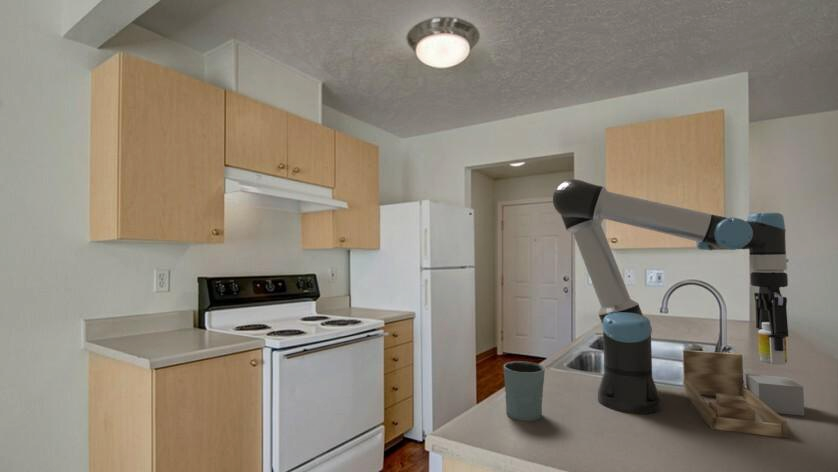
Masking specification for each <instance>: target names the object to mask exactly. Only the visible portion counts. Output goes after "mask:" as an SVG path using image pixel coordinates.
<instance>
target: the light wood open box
mask: <svg viewBox="0 0 838 472" xmlns="http://www.w3.org/2000/svg"><path fill="white" fill-rule="evenodd" d="M743 363H744V362H743V354H742V353H733V352H732V353H731V352H721V351H720V352H718V351H703V350H702V351H701V350H690V349H689V350H688V349H682V365H683V367H682V368H683V369H682V370H683V372H682V373H683V392H684V391H685V392H684V393H686V394H687V395H686V394H685V395H686V397H687V398H688V397H689V398H688V399H689V401H690V402H691V403H692V405H693V406H694V407H695V408H696V410H697V412H698V413H699V414H700V415H701V417H702V418H703V419H704V421H705V422H706V423H707V425H708V427H709V428H710V429H713V430H720V431H727V432H728V431H729V432H736V433H737V432H738V433H744V434H753V435H760V436H768V437H769V436H770V437H778V438H785V439H788V421H787V420H786V419H784V418H783V417H782V416H781V415H780V414H779V413H776V412H775V411H773V410H772V409H771V408H770V407H768V406H767V405H766V404H765V403H764V402H762V401H761V400H760V399H759V398H758V397H756V396H755V395H754V394H753V393H751V392H750V391H749V390H748V389H747V388H746V387H745V386H744V365H743ZM700 394H706V395H705V396H710V395H714V396H713V397H717V396H716V394H725V395H734V396H742V397H743V398H744V399H745V400H746V405H747V406H749V407H750V408H752V409H753V410H755V415H757V416H759V418H760V419H761V420H762V421H758V420H756V421H750V420H741V419H732V418H723V417H716V413H715V412H714V411H713V410H712V408H711V407H710V406H709V403H708V402H707V401H706V400H705V399H704V397H703V395H700Z"/></svg>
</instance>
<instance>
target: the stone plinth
mask: <svg viewBox="0 0 838 472" xmlns="http://www.w3.org/2000/svg"><path fill="white" fill-rule="evenodd" d="M745 384H746V385H745V386H746V387H745V388H747V389H748V390H749V391H750V392H751V393H753V394H754V395H755V396H756V397H758V398H759V399H760V400H761V401H762V402H764V403H765V404H766V405H767V406H768V407H770V408H771V409H772V410H773V411H775V412H776V413H777V414H783V415H784V414H786V415H793V416H805V401H804V400H805V399H804V395H805V394H804V387H803V386H802V385H800V384H799V383H797V382H796V381H794V380H792V379H791V378H789V377H787V376H777V375H766V374H765V375H764V374H752V373H745Z"/></svg>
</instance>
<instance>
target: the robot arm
mask: <svg viewBox="0 0 838 472" xmlns="http://www.w3.org/2000/svg"><path fill="white" fill-rule="evenodd" d="M552 203H553V207H554V209H555V211H556V212H557V213H558V214H559V215H560V216H561V219H562V222H563V224H564V227H565V229H566V231H567V232H568V233H571V234H573V236H574V239H575V242H576V244H577V247H578V249H579V252H580V255H581V257H582V259H583V260H582V261H583V262H584V266H585V268H586V270H587V273H588V276H589V278H590V281H591V284H592V286H593V289H594V292H595V294H596V296H597V299H598V302H599V304H600V310H598V313H597V314H598V316H599V319H600V322H601V325H602V327H601V328H602V331H603V333H602V335H603V336H602V337H603V340H602V341H603V373H602V374H603V375H602V377H601V381H600V384H599V387H598V389H597V400H598V402H599V403H600V404H601V405H603V406H605V407H606V408H607V407H608V408H610V409H613V410H617V411H621V412H625V413H632V414H633V413H634V414H651V413H657V412H658V411H660V410H661V408H662V403H661V397H660V394H659V391H658V388H657V385H656V383H655V381H654V377H653V358H652V357H653V356H652V355H653V354H652V353H653V352H652V333H653V332H652V331H653V329H652V325H651V320H650V319H649V318H648V317H647V316H645V315H644V314H643V312H642V309H641V308H640V304H639V303H638V302H637V301H635V300H633V299H632V298H630V294H629V291H628V289H627V286H626V284H625V282H624V279H623V276H622V274H621V272H620V269H619V266H618V263H617V262H616V259H615V257H614V253H613V251H612V249H611V247H610V244H609V241H608V239H607V236H606V234H605V231H604V228H603V227H602V223H603V221H604V220H608V221H612V222H616V223H620V224H624V225H625V224H626V225H629V226H631V227H632V226H633V227H636V228H640V229H645V230H649V231H653V232H656V233H661V234H666V235H669V236H674V237H678V238H682V239H686V240H690V241H694V242H695V243H696V245H695V246H696V248H697V249H698V250H701V251H704V250H707V251H717V250H718V251H720V250H722V251H723V250H724V251H726V250H732V251H735V250H749V251H748V252H749V256H748V257H749V270H751V271H752V272H751V273H750V285H751V286H752V287H756V288H757V287H759V288H758V292H754V294H753V296H754V302H755V327H756V329H758V331H759V330H761V329H762V322H769V324H770V330H771V335H768V337H770V356H771V363H776V364H783V365H786V364H785V349H784V338H785V337H786V338H788V337H789V327H788V325H789V324H788V313H787V311H788V310H787V305H788V304H787V303H788V299H787V297H786V296H782V294H781V290H780V288H786V287H788V286H789V284H788V283H789V281H788V280H789V279H788V278H789V277H788V274H787V273H786V272H785V271H787V270H788V266H787V265H788V264H787V263H789V259H788V258H787V252H786V251H787V250H786V249H787V247H786V245H787V244H786V225H785V218H784V216H783V214H781V213H779V212H764V213H763V212H762V213H760V212H757V213H752V214H749V215H748V216H747V218H746V219H747V220H744V219H742V218H737V217H725V216H721V215H716V214H711V213H709V212H708V213H707V212H703V211H699V210H693V209H688V208H684V207H679V206H676V205H670V204H667V203H662V202H658V201H652V200H649V199H648V200H647V199H644V198H639V197H635V196H629V195H625V194H621V193H615V192H611V191H608V190H607V188H606V187H605V186H601V185H596V184H593V183H590V182H586V181H584V180H581V179H567V180H565V181H563V182H561V183H560V184H559V185H558V186H557V187H556V188H555V190H554V192H553V193H552ZM776 364H775V365H776Z"/></svg>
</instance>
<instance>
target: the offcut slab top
mask: <svg viewBox="0 0 838 472" xmlns="http://www.w3.org/2000/svg"><path fill="white" fill-rule="evenodd" d="M708 405H709V406H710V407H711V408H712V410H713V411H714V412H715V413H716V417H723V418H732V419H741V420H750V421H757V420H756V413H755V410H753V409H752V408H750V407H749V406H747V405H746V406H747V410H746V409H737V408H728V407H720V405H719V404H718V403H717V401H709V402H708Z"/></svg>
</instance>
